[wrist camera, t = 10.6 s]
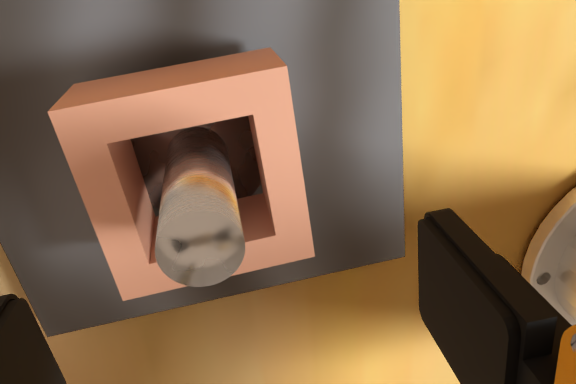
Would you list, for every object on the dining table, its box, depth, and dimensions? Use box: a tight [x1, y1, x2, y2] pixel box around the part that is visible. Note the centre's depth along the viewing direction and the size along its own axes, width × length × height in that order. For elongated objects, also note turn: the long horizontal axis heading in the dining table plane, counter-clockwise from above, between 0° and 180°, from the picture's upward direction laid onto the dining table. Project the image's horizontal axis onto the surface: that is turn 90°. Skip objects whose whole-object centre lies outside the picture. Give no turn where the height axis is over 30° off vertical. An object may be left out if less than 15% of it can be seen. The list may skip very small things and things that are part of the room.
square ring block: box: [48, 47, 315, 301], centre depth 17 cm, size 7×7×4 cm
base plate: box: [0, 0, 405, 337], centre depth 20 cm, size 18×16×2 cm
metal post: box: [131, 116, 261, 287], centre depth 16 cm, size 6×6×8 cm
